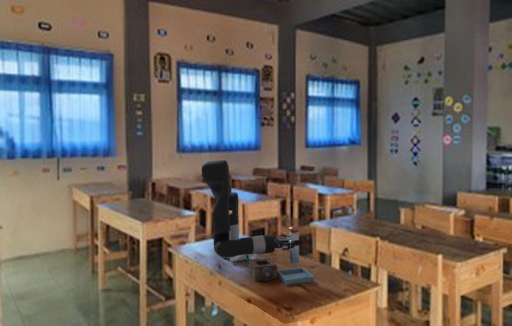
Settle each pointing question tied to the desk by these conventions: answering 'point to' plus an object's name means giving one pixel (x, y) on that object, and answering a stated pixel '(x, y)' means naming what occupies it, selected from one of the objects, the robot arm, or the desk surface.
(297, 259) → the pin
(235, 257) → the tabbed white plastic disc
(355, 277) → the desk surface
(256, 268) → the block
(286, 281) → the tray
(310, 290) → the desk surface
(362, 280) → the desk surface
